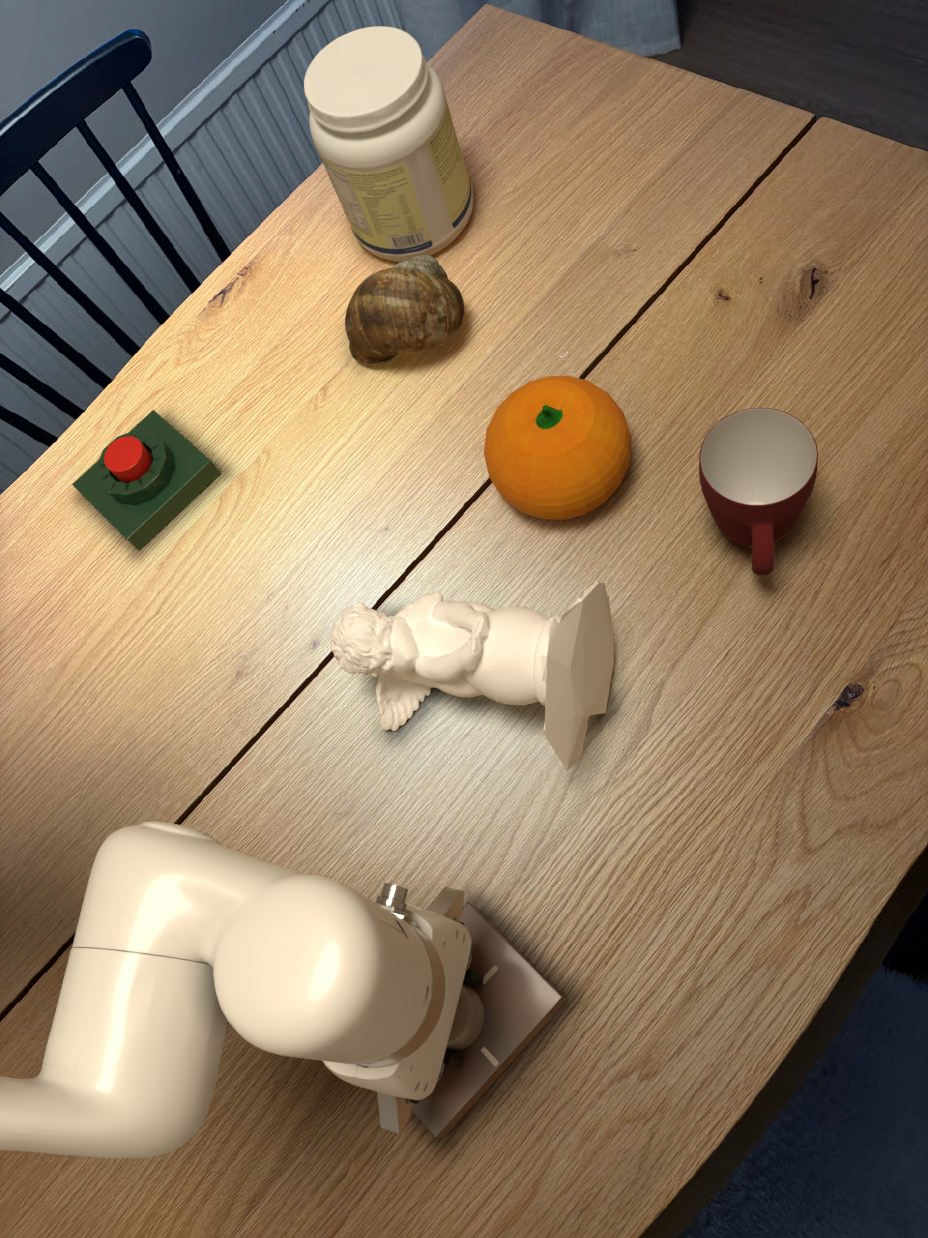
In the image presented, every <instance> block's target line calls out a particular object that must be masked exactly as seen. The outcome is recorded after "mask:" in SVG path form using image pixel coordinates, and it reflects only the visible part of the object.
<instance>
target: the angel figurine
mask: <svg viewBox="0 0 928 1238" xmlns="http://www.w3.org/2000/svg"><path fill="white" fill-rule="evenodd" d="M613 624H614V623H613V617H612V611H611V605H610V596H609V595H608V591H607V588H606V583H604V582H598V581H595V582H594V584H592V585H590V586H589V587H588V588H587V589H585V590H584V592H583V595H582V596H581V597H576V601H575V602H574V603H572V605H571V606H570V607H568V609H567V611H565V612H564V613H563V615H560V614H556V615H555V614H554V615H552V616H551V617H548V616H547V615H545V614H543V613H541V612H540V611H537V610H536V609H533V608H529V607H524V606H515V605H514V606H504V607H501V608H497V609H495V608H493V607H491V606H490V605H487V604H485V603H482V602H477V601H464V600H463V601H460V600H457V601H456V600H444V596H443V594H442V592H440V591H434V592H426V593H424V594H422V595H421V596H420V597H418V599H416V601H415V603H408V604H407V605H406V606H405V607H403V608H402V609H400V610H399V611H398V612H397V613H396V614H395V615H389V616H388V615H387V614H386V613H384V612H381V611H377V610H376V609H373V608H371V607H368V606H367V605H365V603H364V602H359V601H358V602H356V603H354V604H352V605H350V606H346V607H344V609H343V611H342V612H341V615H340V616H337V618H336V620H335V623H334V624H333V626H332V630H331V632H330V634H329V638H330V650H331V652H332V653H333V656H334V658H335V659H336V660H337V663H338V666H339V669H341V670H344V672H347V674H351V675H354V674H363V675H369V676H370V677H375V678H377V677H378V678H377V683H376V686H375V700H376V704H377V707H378V712H379V713H378V716H380V728H381V729H382V731H389V730H391V731H392V732H396V731H397V730H399V728H400V726H401V727H402V726H405V724H406V723H407V720H409V719H412V717H413V716H414V715H413V713H414V712H416V711H418V710H419V708H420V702H421V703H423V702H424V701H425V698H426V697H428V696H430V695H431V691H432V690H431V689H432V688H435V689H438V690H440V691H441V692H443V693H445V694H448V695H450V696H454V697H459V698H475V697H480V696H484V697H486V698H488V699H490V700H492V701H494V702H496V703H499V704H502V705H508V706H524V705H525V706H526V705H531V704H534V703H535V704H536V703H538V702H539V704H540V705H541V706H542V707H544V708H545V709H544V725H543V732H544V735H545V740H546V741H547V742H548V743H549V745H550V746H551V748H552V750H553V751H554V753H555V754H556V756H557V757H558V759H559V760H560V762H561V763H562V765H563V769H562V770H563V771H565V770H566V772H568V771H570V769H571V768H572V767H573V765H574V764H575V763H576V762H577V760H578V759H580V757H581V756H582V754H583V749H584V744H585V738H586V733H587V728H588V723H589V719H590V717H591V716H594V715H595V716H596V715H602V714H607V707H608V701H609V694H610V688H611V683H612V675H613V668H614V663H615V650H614V648H615V647H614V625H613Z"/></svg>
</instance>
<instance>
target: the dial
mask: <svg viewBox="0 0 928 1238" xmlns="http://www.w3.org/2000/svg"><path fill="white" fill-rule="evenodd" d="M483 1024H484V1007H483V1003H482V1001H481V999H480V997H479V995H478V994H477V992H476V991H475V990H474V989H473V988H472V987H470V986H469V985H467V984H465V983H463V984H462V988H461V992H460V996H459V1000H458V1004H457V1008H456V1012H455V1016H454V1020H453V1024H452V1028H451V1032H450V1036H449V1040H448V1044H447V1047H446V1051H458V1050H461V1049H464V1048H466V1047H468V1046H469V1045H470V1044H472V1043H473V1042H474V1041H475V1040H476V1038H477V1037H478V1036H479V1034H480V1032H481V1030H482V1027H483Z"/></svg>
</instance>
